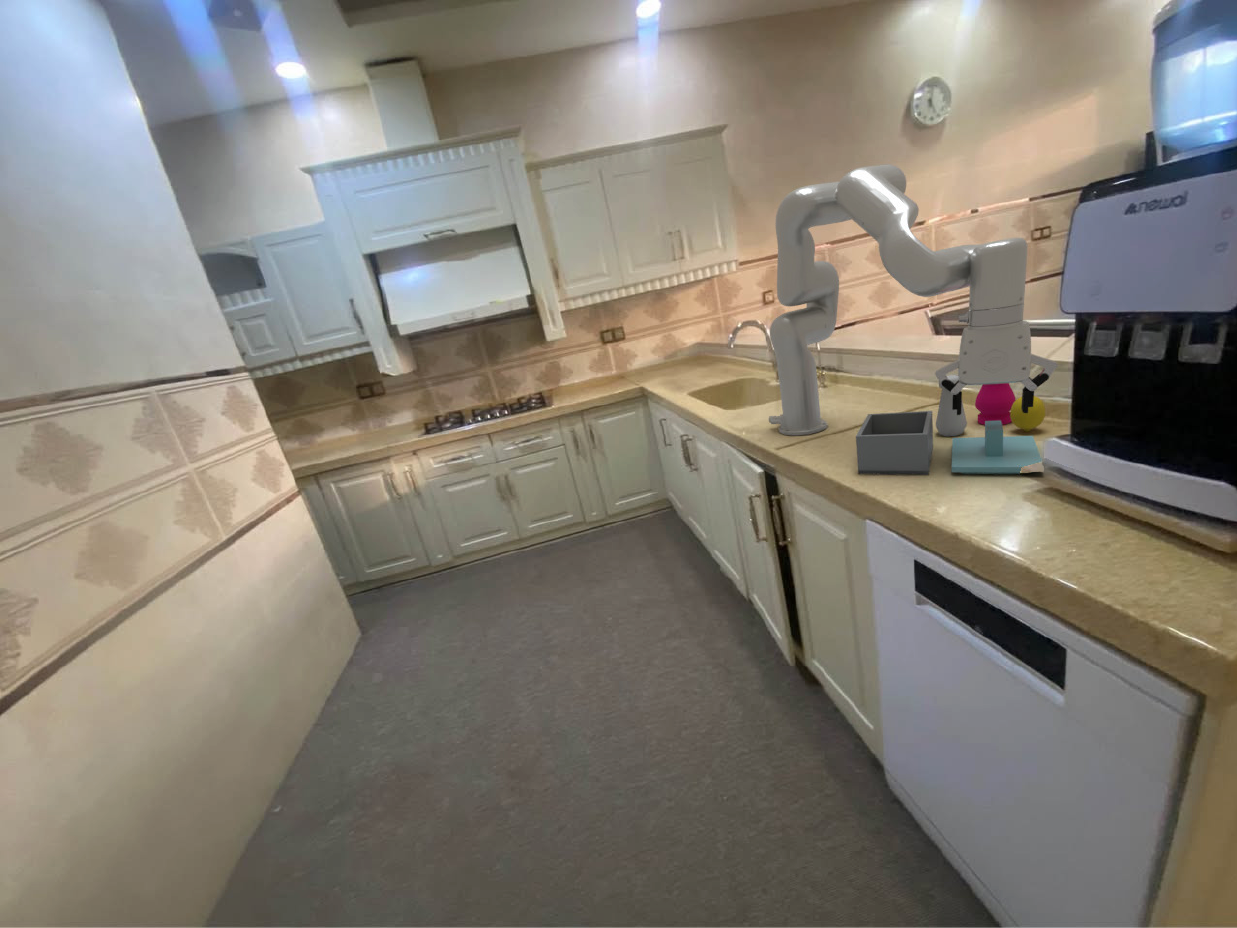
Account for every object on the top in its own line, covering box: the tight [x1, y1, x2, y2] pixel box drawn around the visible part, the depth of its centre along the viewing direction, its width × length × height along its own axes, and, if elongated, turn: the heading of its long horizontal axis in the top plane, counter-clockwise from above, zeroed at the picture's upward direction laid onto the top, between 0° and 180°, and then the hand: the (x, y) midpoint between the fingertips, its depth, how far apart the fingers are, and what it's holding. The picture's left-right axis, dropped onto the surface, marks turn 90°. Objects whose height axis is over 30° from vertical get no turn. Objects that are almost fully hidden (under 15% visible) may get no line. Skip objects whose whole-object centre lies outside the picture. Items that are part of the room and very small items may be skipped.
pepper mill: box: [974, 383, 1017, 426], centre depth 108 cm, size 7×7×20 cm
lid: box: [951, 420, 1043, 475], centre depth 91 cm, size 13×17×7 cm
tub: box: [855, 410, 934, 476], centre depth 100 cm, size 12×16×8 cm
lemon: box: [1009, 395, 1046, 432], centre depth 100 cm, size 6×6×8 cm
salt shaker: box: [935, 374, 968, 437], centre depth 107 cm, size 6×6×13 cm
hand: (990, 412), depth 90 cm, fingers open, 9 cm apart
